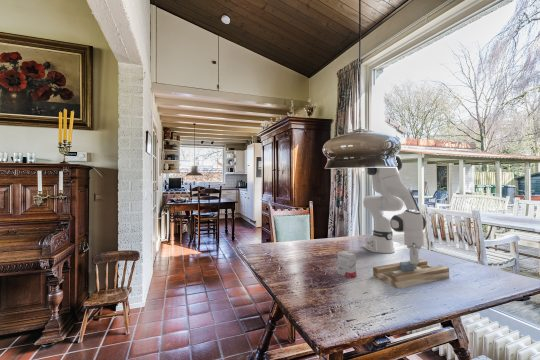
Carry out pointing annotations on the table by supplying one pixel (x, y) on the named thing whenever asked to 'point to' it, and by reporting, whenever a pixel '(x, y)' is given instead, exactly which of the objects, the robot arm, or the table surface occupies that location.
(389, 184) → the robot arm
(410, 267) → the slate block
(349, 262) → the ink box
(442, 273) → the trap lane
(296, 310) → the table surface
